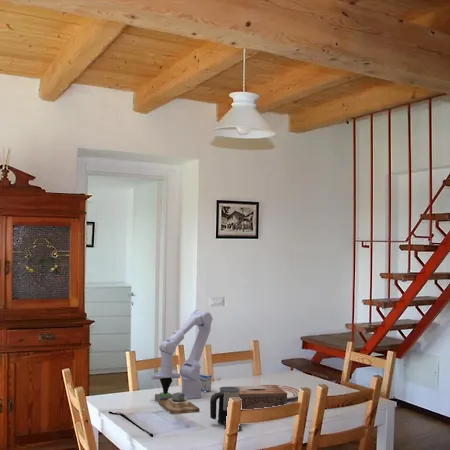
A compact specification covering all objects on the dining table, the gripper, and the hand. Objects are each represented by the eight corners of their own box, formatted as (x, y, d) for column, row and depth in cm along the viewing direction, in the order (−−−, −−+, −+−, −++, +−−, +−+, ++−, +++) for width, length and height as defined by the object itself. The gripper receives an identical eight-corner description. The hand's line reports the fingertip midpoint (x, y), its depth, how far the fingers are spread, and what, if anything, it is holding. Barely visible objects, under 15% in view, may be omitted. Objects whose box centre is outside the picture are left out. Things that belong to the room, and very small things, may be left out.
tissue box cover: (276, 406, 286) (277, 385, 287) (286, 414, 272) (287, 393, 273) (225, 407, 280) (226, 386, 281) (233, 415, 266) (234, 393, 267)
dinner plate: (283, 406, 287) (283, 399, 287) (238, 396, 303) (238, 389, 303) (310, 396, 309) (310, 390, 309) (267, 387, 325) (267, 381, 325)
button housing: (169, 398, 292) (170, 393, 292) (175, 402, 285) (175, 396, 285) (154, 399, 289) (155, 394, 289) (159, 403, 282) (160, 398, 282)
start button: (167, 396, 290) (167, 392, 290) (170, 398, 286) (170, 394, 286) (159, 397, 288) (160, 392, 288) (162, 399, 284) (162, 394, 284)
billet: (177, 402, 278) (178, 392, 278) (184, 404, 276) (184, 393, 276) (172, 404, 275) (172, 393, 275) (178, 406, 272) (178, 395, 273)
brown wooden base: (185, 401, 286) (185, 394, 286) (199, 411, 270) (199, 404, 270) (158, 403, 280) (158, 396, 280) (170, 414, 264) (171, 406, 264)
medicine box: (194, 390, 310) (194, 374, 311) (198, 389, 314) (199, 372, 315) (207, 392, 307) (207, 376, 307) (211, 391, 311) (211, 374, 311)
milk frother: (226, 418, 261) (228, 385, 262) (254, 426, 251) (256, 391, 252) (205, 424, 250) (207, 390, 251) (234, 433, 240) (235, 397, 241)
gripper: (177, 363, 294) (176, 390, 294) (150, 364, 288) (148, 392, 288) (182, 366, 288) (181, 393, 287) (154, 367, 282) (153, 395, 281)
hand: (165, 393), depth 287 cm, fingers closed, pressing on start button
